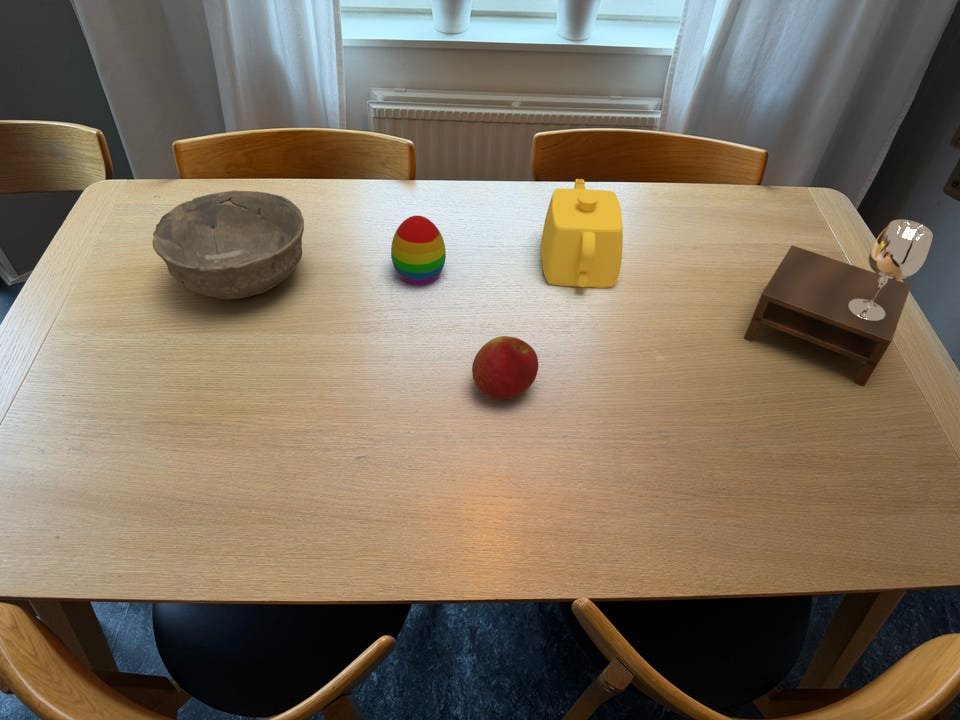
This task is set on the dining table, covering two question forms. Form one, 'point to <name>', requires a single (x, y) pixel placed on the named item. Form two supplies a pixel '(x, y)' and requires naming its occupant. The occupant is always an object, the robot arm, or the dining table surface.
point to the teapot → (582, 238)
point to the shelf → (830, 307)
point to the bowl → (231, 242)
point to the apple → (505, 367)
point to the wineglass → (894, 261)
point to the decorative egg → (418, 250)
